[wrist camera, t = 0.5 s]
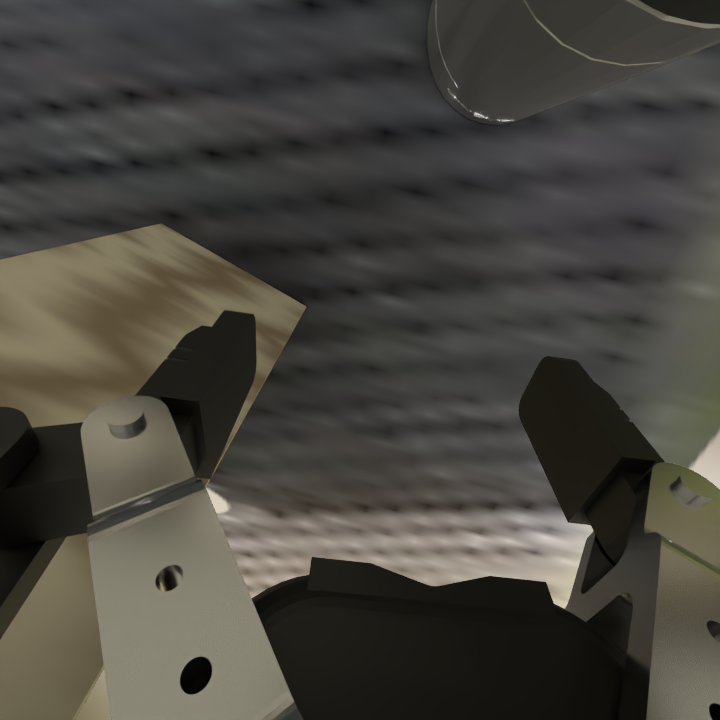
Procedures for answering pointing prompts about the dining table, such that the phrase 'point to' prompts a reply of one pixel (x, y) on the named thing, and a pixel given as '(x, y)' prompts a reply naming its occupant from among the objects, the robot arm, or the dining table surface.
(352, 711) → the robot arm
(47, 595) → the step stand
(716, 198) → the dining table surface
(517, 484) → the dining table surface
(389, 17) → the dining table surface
